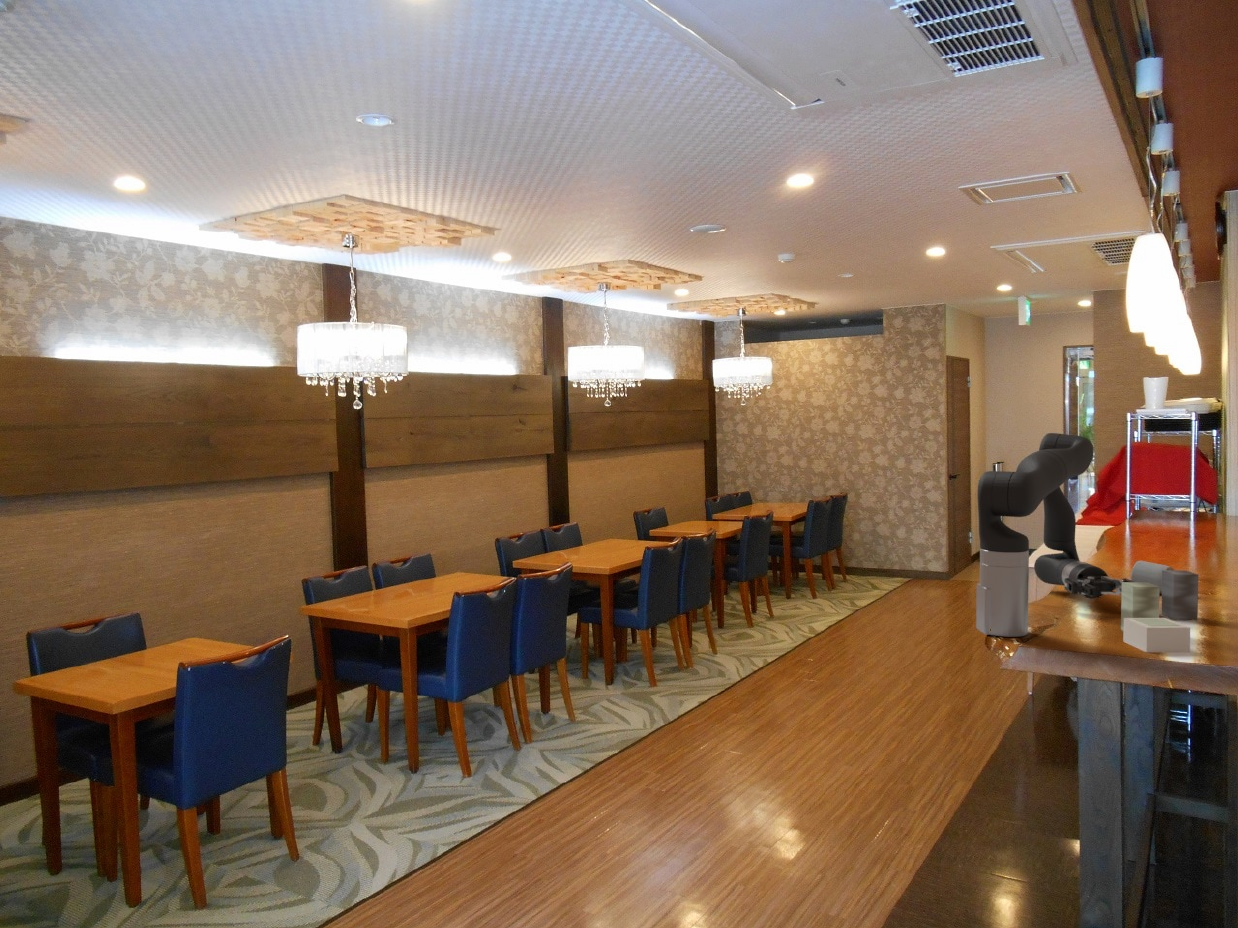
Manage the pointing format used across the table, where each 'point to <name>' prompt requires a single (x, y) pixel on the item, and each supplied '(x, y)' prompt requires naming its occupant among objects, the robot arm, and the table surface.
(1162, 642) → the cream base block
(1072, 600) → the table surface
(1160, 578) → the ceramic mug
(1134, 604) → the sage pillar
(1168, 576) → the slate pillar
